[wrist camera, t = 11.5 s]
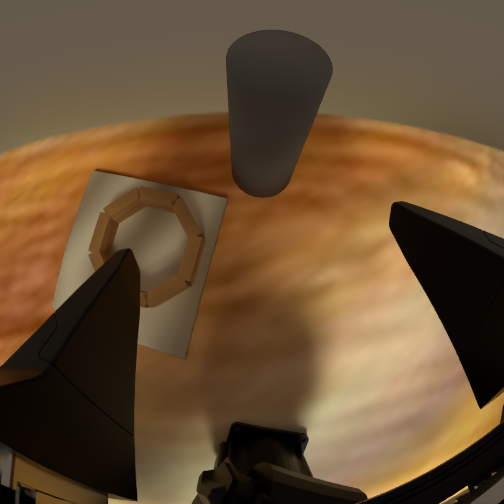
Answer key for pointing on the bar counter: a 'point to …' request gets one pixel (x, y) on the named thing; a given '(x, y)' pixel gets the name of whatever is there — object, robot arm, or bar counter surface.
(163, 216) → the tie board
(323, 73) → the dark grey cylinder
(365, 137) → the bar counter surface
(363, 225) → the bar counter surface
